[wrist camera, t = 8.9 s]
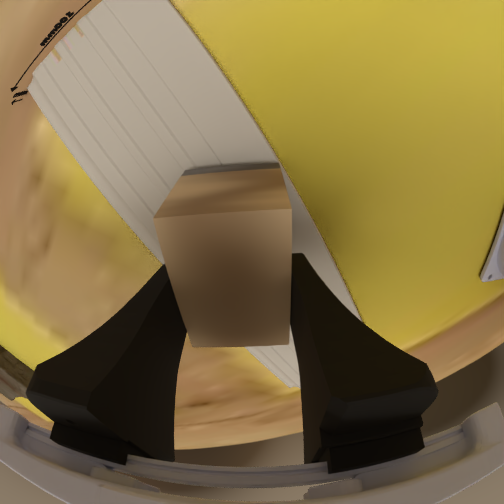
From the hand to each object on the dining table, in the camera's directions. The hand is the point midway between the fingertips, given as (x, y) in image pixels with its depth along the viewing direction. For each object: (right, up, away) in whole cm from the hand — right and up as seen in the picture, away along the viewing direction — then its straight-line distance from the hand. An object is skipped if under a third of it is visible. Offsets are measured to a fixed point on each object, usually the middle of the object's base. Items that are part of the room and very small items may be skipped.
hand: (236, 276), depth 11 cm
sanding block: (0, +2, +2) cm, 3 cm away
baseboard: (-1, +1, +5) cm, 5 cm away
